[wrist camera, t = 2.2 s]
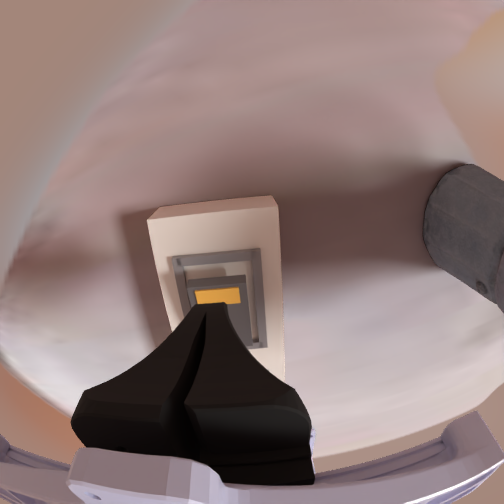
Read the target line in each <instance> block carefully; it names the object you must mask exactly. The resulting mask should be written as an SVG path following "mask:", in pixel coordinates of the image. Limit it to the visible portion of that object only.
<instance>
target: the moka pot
mask: <svg viewBox="0 0 504 504" xmlns="http://www.w3.org/2000/svg"><path fill="white" fill-rule="evenodd" d="M423 237H424V242H425V245H426V248H427V250H428V252H429V254H430V256H431V257H432V259H433V261H434V262H435V264H436V265H438V266H439V267H440V268H442V269H443V270H445V271H446V272H448V273H449V274H451V275H453V276H454V277H456V278H457V279H459V280H461V281H462V282H464V283H465V284H466V285H468V286H469V287H471V288H472V289H474V290H475V291H477V292H478V293H480V294H481V295H482V296H484V297H485V298H487V299H488V300H490V301H491V302H493V303H495V304H497V305H498V307H499V308H500V309H501V311H502V312H503V313H504V181H502V180H501V179H499V178H497V177H496V176H494V175H492V174H491V173H489V172H487V171H485V170H484V169H482V168H480V167H478V166H476V165H474V164H468V165H464V166H461V167H458V168H456V169H453V170H451V171H450V172H448V173H447V174H445V175H444V176H443V178H442V179H441V180H440V182H439V183H438V184H437V187H436V188H435V190H434V191H433V193H432V194H431V195H430V199H429V201H428V205H427V208H426V210H425V218H424V228H423Z"/></svg>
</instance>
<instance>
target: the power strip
mask: <svg viewBox="0 0 504 504" xmlns="http://www.w3.org/2000/svg"><path fill="white" fill-rule="evenodd" d="M147 224H148V229H149V235H150V240H151V245H152V250H153V254H154V259H155V264H156V268H157V273H158V277H159V282H160V286H161V290H162V294H163V299H164V303H165V307H166V311H167V314H168V318H169V322H170V326H171V330H172V332H173V331H174V330H175V328H176V327H177V326H178V325H179V324H180V322H181V321H182V320H183V319H184V317H185V316H186V315H187V314H188V312H189V311H190V310H191V308H192V307H191V303H190V300H189V296H188V292H187V282H188V279H200V278H211V277H222V276H234V275H244V274H246V283H247V293H248V302H249V312H250V321H251V331H252V341H253V346H246V348H247V349H248V350H249V351H250V353H251V354H252V355H253V356H254V357H255V358H256V360H257V361H258V362H259V363H261V364H262V365H263V366H264V367H265V368H266V369H267V370H268V371H269V372H270V373H272V374H273V375H274V376H276V377H277V378H278V379H280V380H281V381H283V382H284V383H285V359H284V322H283V294H282V270H281V249H280V229H279V211H278V205H277V203H276V202H275V200H274V198H273V197H272V195H269V196H257V197H245V198H235V199H225V200H215V201H206V202H197V203H188V204H180V205H171V206H164V207H159V208H158V209H157V210H156V211H155V212H154V213H153V214H152V215H151V216H150V217H149V218H148V219H147Z"/></svg>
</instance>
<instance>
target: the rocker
mask: <svg viewBox="0 0 504 504" xmlns="http://www.w3.org/2000/svg"><path fill="white" fill-rule="evenodd" d="M187 292H188V296H189V300H190V303H191V307H193V306H194V305H195V304H205V303H218V302H225V303H226V304H227V307H228V314H229V318H230V320H231V323H232V325H233V327H234V329H235V331H236V332H237V334H238V336H239V337H240V339H241V341H242V342H243V344H244V345H245V346H253V341H252V331H251V321H250V312H249V302H248V293H247V283H246V274H244V275H234V276H222V277H211V278H200V279H188V282H187Z"/></svg>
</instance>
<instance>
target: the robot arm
mask: <svg viewBox="0 0 504 504" xmlns="http://www.w3.org/2000/svg"><path fill="white" fill-rule="evenodd" d="M71 426H72V429H73V431H74V432H75V434H76V435H77V437H78V438H79V439H80V440H81V442H82V443H83V444H84V445H85V446H86V448H79V449H78V451H77V452H76V453H75V455H74V458H73V461H72V464H71V465H70V464H66V463H62V462H59V461H55V460H52V459H49V458H45V457H42V456H39V455H36V454H33V453H30V452H28V451H25V450H22V449H19V448H17V447H14V446H12V445H10V444H9V442H8V441H7V440H6V439H5V438H4V437H3V436H2V435H1V434H0V498H2V499H4V500H6V501H8V502H10V503H11V504H451V503H453V502H454V501H456V500H458V499H460V498H462V497H464V496H465V495H467V494H469V493H471V492H472V491H474V490H475V489H476V488H477V487H478V486H479V485H480V484H482V483H483V482H484V481H485V480H486V479H487V478H488V477H489V476H490V475H491V474H492V473H493V472H494V471H495V470H496V469H497V468H498V467H499V466H500V465H501V464H502V463H503V462H504V452H503V451H502V449H501V447H500V445H499V444H498V442H497V440H496V439H495V437H494V436H493V434H492V433H491V431H490V429H489V428H488V426H487V425H486V423H485V422H484V420H483V418H482V417H481V415H480V414H479V412H478V411H473V412H471V413H469V414H467V415H465V416H463V417H461V418H458V419H456V420H454V421H453V422H451V423H450V424H449V425H447V427H446V428H445V429H444V431H443V433H442V435H441V436H440V437H438V438H436V439H433V440H431V441H428V442H426V443H423V444H421V445H418V446H415V447H413V448H410V449H407V450H404V451H401V452H399V453H395V454H392V455H389V456H386V457H382V458H379V459H376V460H372V461H369V462H365V463H361V464H357V465H353V466H349V467H345V468H340V469H336V470H331V471H326V472H321V473H315V468H314V464H313V459H312V454H313V447H314V441H315V430H314V429H311V428H312V426H311V419H310V417H309V414H308V412H307V409H306V407H305V405H304V404H303V402H302V400H301V398H300V397H299V395H298V394H297V392H296V391H295V389H294V388H292V387H291V386H289V385H287V384H286V383H284V382H283V381H281V380H280V379H278V378H277V377H276V376H274V375H273V374H272V373H270V372H269V371H268V370H267V369H266V368H265V367H264V366H263V365H262V364H261V363H259V362H258V361H257V360H256V358H255V357H254V356H253V355H252V354H251V353H250V351H249V350H248V349H247V348H246V346H245V345H244V344H243V342H242V341H241V339H240V337H239V336H238V334H237V332H236V331H235V329H234V327H233V325H232V323H231V320H230V318H229V314H228V307H227V304H226V303H225V302H218V303H205V304H195V305H194V306H193V307H192V308H191V310H190V311H189V312H188V314H187V315H186V316H185V317H184V319H183V320H182V321H181V322H180V324H179V325H178V326H177V327H176V328H175V330H174V331H173V332H172V333H171V334H170V335H169V336H168V337H167V338H166V340H165V341H164V342H163V343H162V344H161V345H160V346H159V347H157V348H156V349H155V350H154V351H153V352H152V353H151V354H149V355H148V356H147V357H146V358H144V359H143V360H142V361H140V362H139V363H137V364H136V365H134V366H133V367H131V368H130V369H128V370H127V371H125V372H123V373H122V374H120V375H118V376H116V377H114V378H113V379H111V380H109V381H107V382H104V383H102V384H100V385H97V386H95V387H92V388H90V389H87V390H85V391H84V392H83V394H82V396H81V398H80V400H79V402H78V405H77V407H76V409H75V411H74V414H73V416H72V419H71Z"/></svg>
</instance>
